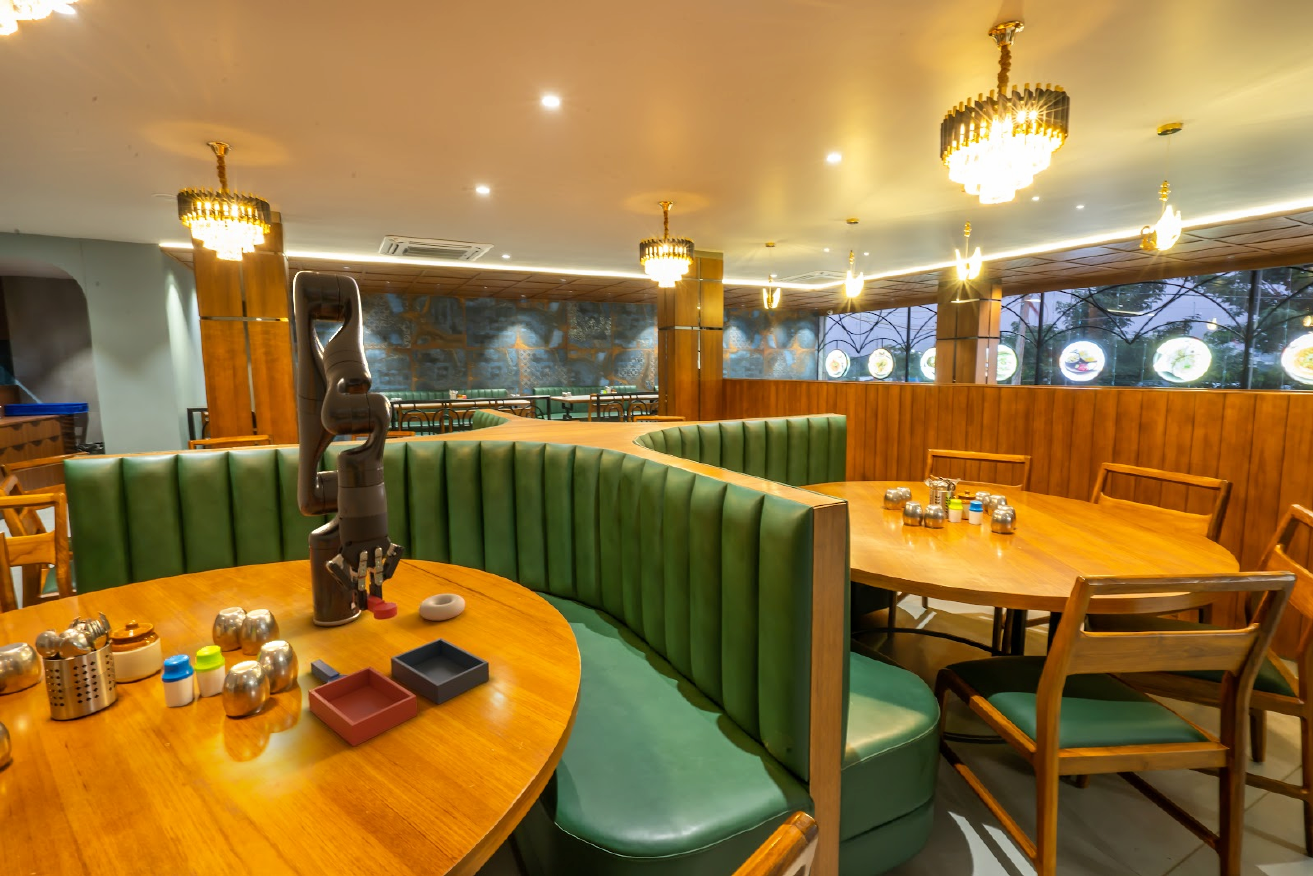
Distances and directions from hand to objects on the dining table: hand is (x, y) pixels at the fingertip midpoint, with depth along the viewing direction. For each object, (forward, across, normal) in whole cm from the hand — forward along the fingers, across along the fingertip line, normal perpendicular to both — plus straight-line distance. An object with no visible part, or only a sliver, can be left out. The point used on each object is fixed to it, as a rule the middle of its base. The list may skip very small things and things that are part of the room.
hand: (368, 607), depth 103 cm
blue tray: (+15, -9, +6) cm, 18 cm away
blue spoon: (+14, +4, -8) cm, 17 cm away
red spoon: (0, 0, +2) cm, 2 cm away
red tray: (+15, +5, +6) cm, 17 cm away
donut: (+14, -25, -18) cm, 34 cm away
